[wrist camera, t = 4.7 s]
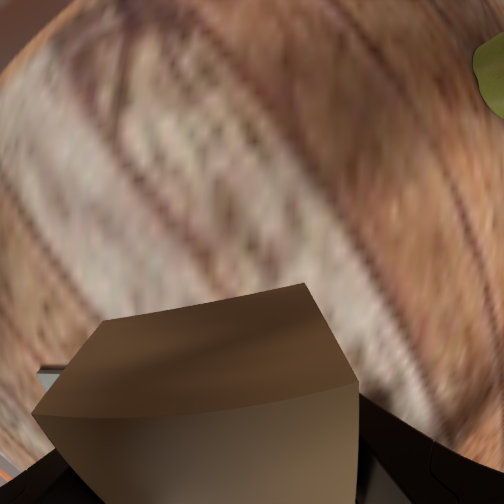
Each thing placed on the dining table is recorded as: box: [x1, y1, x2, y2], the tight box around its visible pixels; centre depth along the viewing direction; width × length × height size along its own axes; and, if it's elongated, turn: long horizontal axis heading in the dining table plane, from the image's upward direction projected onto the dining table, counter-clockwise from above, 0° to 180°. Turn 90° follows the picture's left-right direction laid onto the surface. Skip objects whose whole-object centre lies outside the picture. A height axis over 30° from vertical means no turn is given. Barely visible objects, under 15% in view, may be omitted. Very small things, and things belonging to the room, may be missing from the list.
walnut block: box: [31, 283, 359, 504], centre depth 6 cm, size 6×6×4 cm
